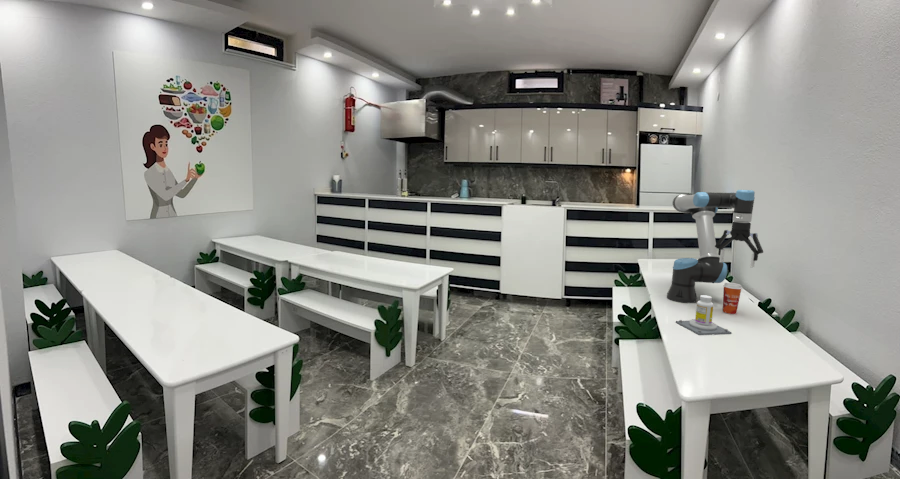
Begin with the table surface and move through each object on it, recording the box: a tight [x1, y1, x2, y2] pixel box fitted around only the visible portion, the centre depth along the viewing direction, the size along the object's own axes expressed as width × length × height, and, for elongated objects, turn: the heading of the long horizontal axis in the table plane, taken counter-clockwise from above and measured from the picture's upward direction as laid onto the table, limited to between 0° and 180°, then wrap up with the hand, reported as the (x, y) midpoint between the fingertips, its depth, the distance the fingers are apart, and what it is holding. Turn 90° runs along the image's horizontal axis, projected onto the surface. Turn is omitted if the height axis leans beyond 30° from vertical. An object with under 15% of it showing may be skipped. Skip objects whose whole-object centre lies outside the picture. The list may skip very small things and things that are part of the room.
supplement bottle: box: [694, 294, 715, 325], centre depth 202 cm, size 7×7×13 cm
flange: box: [675, 318, 732, 336], centre depth 203 cm, size 16×16×2 cm
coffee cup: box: [722, 282, 743, 315], centre depth 226 cm, size 8×8×15 cm
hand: (736, 264), depth 217 cm, fingers open, 13 cm apart
